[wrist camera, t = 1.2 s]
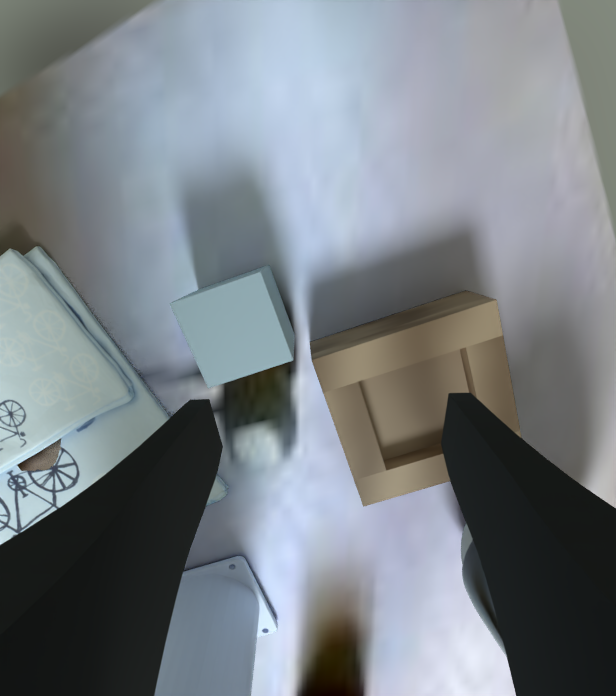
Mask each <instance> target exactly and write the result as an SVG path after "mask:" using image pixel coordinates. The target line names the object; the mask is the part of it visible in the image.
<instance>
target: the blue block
mask: <svg viewBox="0 0 616 696" xmlns="http://www.w3.org/2000/svg"><path fill="white" fill-rule="evenodd" d="M170 306H171V308H172V310H173V312H174V315H175V317H176V319H177V321H178V323H179V325H180V328H181V330H182V332H183V334H184V336H185V339H186V341H187V343H188V345H189V347H190V350H191V352H192V354H193V356H194V358H195V360H196V363H197V365H198V367H199V369H200V371H201V374H202V376H203V378H204V380H205V382H206V385H207V387H208V388H211V387H214V386H217V385H220V384H223V383H226V382H229V381H232V380H235V379H238V378H241V377H244V376H247V375H250V374H253V373H256V372H259V371H262V370H265V369H268V368H271V367H274V366H277V365H281V364H284V363H287V362H290V361H293V356H294V336H295V335H294V332H293V329H292V326H291V324H290V321H289V318H288V315H287V313H286V310H285V307H284V304H283V301H282V299H281V296H280V293H279V290H278V288H277V285H276V282H275V279H274V277H273V274H272V271H271V268H270V266H269V265H267V266H264V267H261V268H259V269H256V270H253V271H250V272H247V273H244V274H242V275H239V276H236V277H233V278H230V279H227V280H224V281H222V282H219V283H216V284H213V285H210V286H207V287H205V288H202V289H199V290H197V291H195V292H193V293H190V294H188V295H186V296H184V297H182V298H180V299H178V300H176V301H174V302H172V303H170Z"/></svg>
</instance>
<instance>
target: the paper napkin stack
mask: <svg viewBox="0 0 616 696" xmlns="http://www.w3.org/2000/svg"><path fill="white" fill-rule="evenodd" d="M168 419H170V417H169V415H168V414H167V413H166V411H165V410H164V409H163V407H162V406H161V405H160V403H159V402H158V401H157V399H156V398H155V397H154V395H153V394H152V392H151V391H150V390H149V389H148V387H147V386H146V385H145V383H144V382H143V381H142V379H141V378H140V376H139V375H138V374H137V372H136V371H135V370H134V368H133V367H132V366H131V364H130V363H129V361H128V360H127V359H126V358H125V356H124V355H123V354H122V352H121V351H120V350H119V348H118V347H117V346H116V344H115V343H114V342H113V340H112V339H111V338H110V337H109V335H108V334H107V333H106V331H105V330H104V329H103V327H102V326H101V325H100V323H99V322H98V321H97V319H96V318H95V317H94V315H93V314H92V313H91V311H90V310H89V309H88V307H87V306H86V304H85V303H84V302H83V300H82V299H81V297H80V296H79V295H78V293H77V292H76V290H75V289H74V288H73V286H72V285H71V284H70V282H69V281H68V280H67V278H66V277H65V276H64V274H63V273H62V272H61V270H60V269H59V267H58V266H57V264H56V263H55V262H54V261H53V260H52V259H51V258H50V257H49V256H48V255H47V254H46V253H45V251H44V250H43V249H42V248H41V247H40V246H36V247H34V248H33V249H32V250H31V251H29V252H28V253H27V254H25V255H24V256H22V255H21V254H20V253H19V252H18V251H16V250H13V249H11V248H10V249H8V250H7V251H6V252H5V253H4V254H3V255H1V256H0V545H1V544H2V543H4V542H6V541H7V540H9V539H11V538H13V537H14V536H16V535H18V534H19V533H21V532H22V531H24V530H26V529H27V528H29V527H30V526H32V525H33V524H35V523H36V522H38V521H40V520H41V519H43V518H44V517H46V516H47V515H49V514H50V513H52V512H53V511H55V510H57V509H58V508H60V507H61V506H63V505H64V504H66V503H67V502H69V501H70V500H71V499H73V498H74V497H76V496H77V495H78V494H80V493H81V492H82V491H84V490H85V489H87V488H88V487H89V486H91V485H92V484H93V483H95V482H96V481H97V480H99V479H100V478H101V477H103V476H104V475H105V474H106V473H108V472H109V471H110V470H111V469H112V468H114V467H115V466H116V465H117V464H118V463H120V462H121V461H122V460H123V459H124V458H126V457H127V456H128V455H129V454H130V453H132V452H133V451H134V450H135V449H136V448H138V447H139V446H140V445H141V444H142V443H143V442H144V441H145V440H146V439H148V438H149V437H150V436H151V435H152V434H153V433H154V432H155V431H156V430H158V429H159V428H160V427H161V426H162V425H163V424H164V423H165V422H166V421H167V420H168ZM60 438H61V450H60V451H59V456H58V459H57V460H56V461H57V462H56V463H55V464H54V465H53V467H52V466H51V468H50V469H48V470H45V471H43V470H38V469H37V470H36V471H21V470H20V469H19V467H18V466H17V464H19V463H20V462H22V461H24V460H26V459H28V458H29V457H31V456H33V455H35V454H36V453H38V452H39V451H41V450H43V449H44V448H46V447H48V446H49V445H51V444H52V443H54V442H56V441H57V440H59V439H60ZM227 489H228V485H226V484H225V483H224V482H223V481H222V479H221V478H220V477H219V476H218V475H216V478H215V481H214V484H213V487H212V490H211V493H210V496H209V498H208V501H207V504H206V506H207V505H209V504H212V503H215V502H217V501H220V499H222V498H224V497H225V496H226V495H227Z"/></svg>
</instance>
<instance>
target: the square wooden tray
mask: <svg viewBox="0 0 616 696" xmlns="http://www.w3.org/2000/svg"><path fill="white" fill-rule="evenodd" d="M310 349H311V358H312V362H313V365H314V368H315V371H316V374H317V377H318V379H319V382H320V385H321V388H322V391H323V394H324V396H325V399H326V402H327V405H328V408H329V410H330V413H331V416H332V419H333V422H334V425H335V427H336V430H337V433H338V436H339V439H340V442H341V444H342V447H343V450H344V453H345V456H346V459H347V461H348V464H349V467H350V470H351V473H352V475H353V478H354V481H355V484H356V487H357V490H358V492H359V495H360V498H361V501H362V504H363V506H367V505H370V504H374V503H377V502H380V501H384V500H387V499H391V498H394V497H397V496H401V495H404V494H408V493H411V492H414V491H418V490H421V489H425V488H428V487H431V486H435V485H438V484H442V483H445V482H448V481H450V478H449V475H448V471H447V467H446V463H445V459H444V455H443V451H442V446H441V440H442V433H443V427H444V420H445V414H446V407H447V400H448V394H449V393H472V394H473V395H474V396H475V397H476V398H477V399H478V400H479V401H480V402H482V403H483V404H484V405H485V406H486V407H487V408H488V409H489V410H490V411H491V412H492V413H493V414H495V415H496V416H497V417H498V418H499V419H500V420H501V421H502V422H503V423H505V424H506V425H507V426H508V427H509V428H510V429H511V430H512V431H514V432H515V433H516V434H517V435H518V436H519V437H521V432H520V427H519V421H518V416H517V410H516V405H515V399H514V394H513V388H512V383H511V377H510V371H509V366H508V360H507V355H506V349H505V344H504V338H503V333H502V327H501V322H500V316H499V311H498V305H497V300H496V299H492V298H489V297H486V296H483V295H479V294H476V293H473V292H469V291H463V292H460V293H457V294H454V295H451V296H448V297H445V298H442V299H439V300H436V301H433V302H430V303H427V304H424V305H421V306H418V307H415V308H412V309H409V310H406V311H402V312H399V313H396V314H393V315H390V316H387V317H384V318H381V319H378V320H375V321H372V322H369V323H366V324H363V325H360V326H357V327H354V328H351V329H348V330H345V331H342V332H339V333H336V334H333V335H330V336H327V337H324V338H321V339H318V340H315V341H312V342H310Z"/></svg>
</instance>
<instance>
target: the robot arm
mask: <svg viewBox="0 0 616 696" xmlns="http://www.w3.org/2000/svg"><path fill="white" fill-rule="evenodd" d="M441 446H442V451H443V455H444V459H445V463H446V467H447V471H448V475H449V478H450V481H451V484H452V486H453V489H454V492H455V494H456V497H457V500H458V502H459V505H460V508H461V510H462V513H463V515H464V518H465V521H466V523H467V526H468V528H469V531H470V534H471V536H472V539H473V542H474V544H475V547H476V549H477V552H478V555H479V558H480V561H481V564H482V567H483V570H484V573H485V577H486V580H487V584H488V588H489V591H490V595H491V598H492V602H493V606H494V609H495V613H496V617H497V620H498V624H499V628H500V632H501V636H502V640H503V643H504V647H505V651H506V655H507V659H508V663H509V667H510V671H511V676H512V680H513V684H514V688H515V692H516V696H616V508H614V507H613V506H611V505H610V504H608V503H607V502H605V501H604V500H602V499H601V498H599V497H598V496H596V495H595V494H593V493H592V492H591V491H589V490H588V489H586V488H585V487H583V486H582V485H580V484H579V483H578V482H576V481H575V480H574V479H572V478H571V477H569V476H568V475H567V474H565V473H564V472H563V471H562V470H560V469H559V468H558V467H556V466H555V465H554V464H552V463H551V462H550V461H549V460H547V459H546V458H545V457H543V456H542V455H541V454H540V453H539V452H537V451H536V450H535V449H534V448H532V447H531V446H530V445H529V444H528V443H526V442H525V441H524V440H523V439H522V438H521V437H519V436H518V435H517V434H516V433H515V432H514V431H512V430H511V429H510V428H509V427H508V426H507V425H506V424H505V423H503V422H502V421H501V420H500V419H499V418H498V417H497V416H496V415H495V414H493V413H492V412H491V411H490V410H489V409H488V408H487V407H486V406H485V405H484V404H483V403H482V402H480V401H479V400H478V399H477V398H476V397H475V396H474V395H473V394H472V393H449V394H448V400H447V407H446V414H445V420H444V427H443V433H442V440H441ZM222 448H223V446H222V442H221V439H220V435H219V432H218V428H217V425H216V421H215V418H214V414H213V411H212V407H211V404H210V400H209V399H201V400H190V401H188V402H187V403H186V404H185V405H184V406H183V407H181V408H180V409H179V410H178V411H177V412H176V413H175V414H174V415H173V416H172V417H171V418H170V419H168V420H167V421H166V422H165V423H164V424H163V425H162V426H161V427H160V428H159V429H158V430H156V431H155V432H154V433H153V434H152V435H151V436H150V437H149V438H148V439H146V440H145V441H144V442H143V443H142V444H141V445H140V446H139V447H138V448H136V449H135V450H134V451H133V452H132V453H130V454H129V455H128V456H127V457H126V458H124V459H123V460H122V461H121V462H120V463H118V464H117V465H116V466H115V467H114V468H112V469H111V470H110V471H109V472H108V473H106V474H105V475H104V476H103V477H101V478H100V479H99V480H97V481H96V482H95V483H93V484H92V485H91V486H89V487H88V488H87V489H85V490H84V491H82V492H81V493H80V494H78V495H77V496H76V497H74V498H73V499H71V500H70V501H69V502H67V503H66V504H64V505H63V506H61V507H60V508H58V509H57V510H55V511H53V512H52V513H50V514H49V515H47V516H46V517H44V518H43V519H41V520H40V521H38V522H36V523H35V524H33V525H32V526H30V527H29V528H27V529H26V530H24V531H22V532H21V533H19V534H18V535H16V536H14V537H13V538H11V539H9V540H7V541H6V542H4V543H2V544H1V545H0V696H251V689H252V680H253V670H254V661H255V651H256V642H257V637H260V636H264V635H267V634H271V633H274V632H276V631H277V629H278V624H277V621H276V619H275V617H274V615H273V613H272V611H271V609H270V607H269V605H268V603H267V601H266V599H265V597H264V595H263V593H262V591H261V589H260V587H259V585H258V583H257V581H256V579H255V577H254V575H253V573H252V571H251V569H250V567H249V565H248V563H247V561H246V559H245V558H244V557H242V556H236V557H233V558H229V559H226V560H222V561H219V562H215V563H212V564H208V565H205V566H202V567H198V568H195V569H191V570H188V571H184V572H183V570H184V567H185V563H186V560H187V557H188V554H189V551H190V548H191V545H192V542H193V539H194V537H195V534H196V531H197V528H198V526H199V523H200V520H201V518H202V515H203V512H204V509H205V507H206V504H207V501H208V498H209V496H210V493H211V490H212V487H213V484H214V481H215V478H216V475H217V471H218V466H219V462H220V457H221V453H222ZM231 564H234V565H231Z"/></svg>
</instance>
